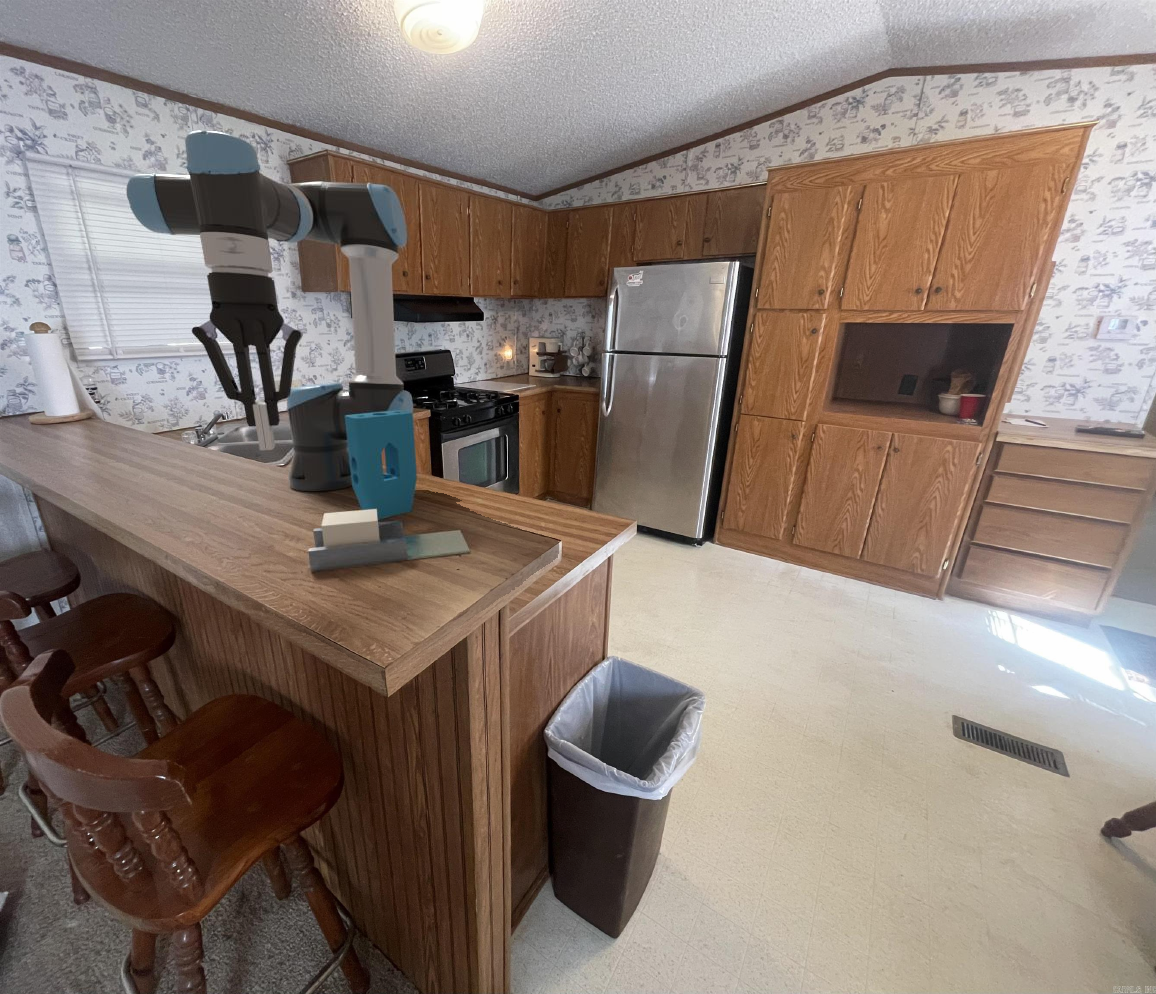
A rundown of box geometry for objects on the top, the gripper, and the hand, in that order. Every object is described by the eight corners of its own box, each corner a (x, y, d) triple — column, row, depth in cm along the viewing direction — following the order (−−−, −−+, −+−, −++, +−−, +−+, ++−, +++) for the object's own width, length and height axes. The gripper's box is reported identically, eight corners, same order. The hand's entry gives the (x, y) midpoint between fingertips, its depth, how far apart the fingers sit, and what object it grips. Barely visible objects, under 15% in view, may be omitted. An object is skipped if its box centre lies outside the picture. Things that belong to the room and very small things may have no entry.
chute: (316, 547, 86) (313, 528, 85) (460, 532, 94) (459, 514, 93) (311, 571, 77) (308, 551, 76) (469, 552, 86) (469, 533, 85)
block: (366, 522, 97) (356, 418, 91) (353, 516, 100) (342, 415, 94) (420, 508, 106) (414, 412, 100) (407, 503, 109) (400, 409, 103)
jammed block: (328, 547, 84) (324, 513, 83) (379, 541, 87) (376, 508, 86) (326, 561, 79) (321, 525, 77) (380, 555, 82) (377, 520, 80)
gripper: (170, 266, 61) (207, 456, 69) (293, 274, 66) (315, 451, 73) (189, 272, 68) (221, 445, 75) (299, 279, 73) (319, 441, 80)
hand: (267, 448), depth 74 cm, fingers closed
